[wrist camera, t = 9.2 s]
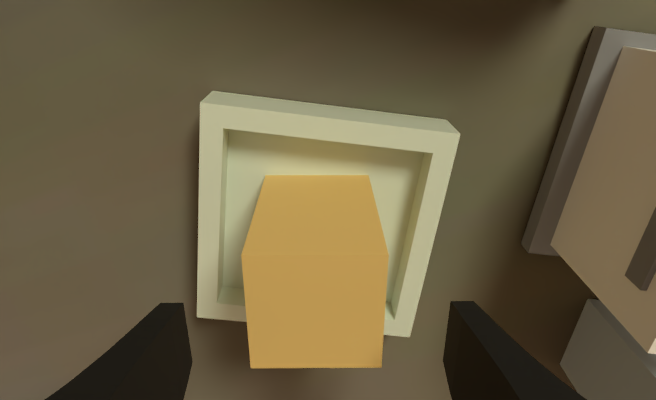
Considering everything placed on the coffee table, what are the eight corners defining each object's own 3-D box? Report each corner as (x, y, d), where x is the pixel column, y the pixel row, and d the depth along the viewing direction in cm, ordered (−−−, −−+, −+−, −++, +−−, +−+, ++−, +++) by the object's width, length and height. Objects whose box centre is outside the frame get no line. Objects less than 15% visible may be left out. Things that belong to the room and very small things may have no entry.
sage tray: (446, 119, 18) (460, 134, 16) (402, 307, 22) (409, 337, 20) (212, 90, 18) (200, 102, 16) (207, 289, 21) (196, 317, 19)
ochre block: (365, 262, 20) (381, 367, 14) (270, 263, 20) (250, 368, 14) (368, 175, 18) (388, 254, 13) (265, 175, 18) (241, 255, 13)
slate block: (668, 306, 22) (783, 411, 17) (635, 371, 24) (729, 485, 18) (587, 298, 22) (676, 402, 16) (559, 363, 23) (631, 478, 18)
